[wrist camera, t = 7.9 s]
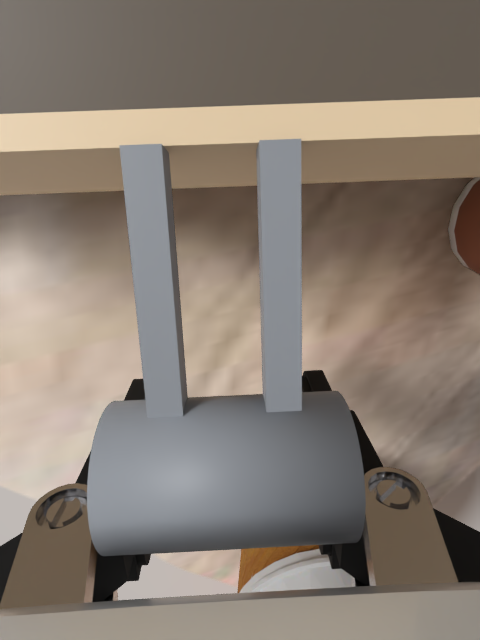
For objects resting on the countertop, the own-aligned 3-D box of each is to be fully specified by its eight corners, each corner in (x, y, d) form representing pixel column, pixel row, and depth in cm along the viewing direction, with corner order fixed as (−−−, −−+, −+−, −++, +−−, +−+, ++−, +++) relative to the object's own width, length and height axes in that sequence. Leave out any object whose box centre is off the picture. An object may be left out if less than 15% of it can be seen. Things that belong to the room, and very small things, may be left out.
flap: (914, 54, 5) (753, 559, 6) (504, 158, 12) (479, 386, 13) (-552, 103, 4) (-313, 618, 6) (-73, 179, 11) (-24, 410, 13)
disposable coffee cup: (240, 524, 30) (248, 739, 19) (213, 423, 26) (203, 613, 15) (363, 503, 29) (447, 710, 18) (353, 398, 26) (449, 573, 15)
